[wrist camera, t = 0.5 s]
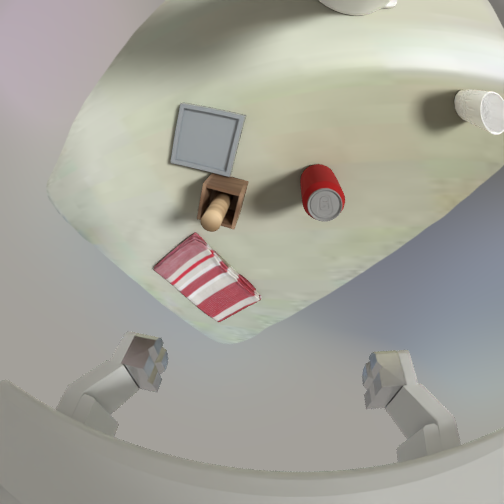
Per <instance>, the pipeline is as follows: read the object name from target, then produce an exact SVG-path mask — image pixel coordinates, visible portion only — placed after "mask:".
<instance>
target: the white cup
mask: <svg viewBox="0 0 504 504" xmlns="http://www.w3.org/2000/svg"><path fill="white" fill-rule="evenodd" d="M454 104H455V109H456V112H457V114H458V115H459V116H460V117H461V118H462V119H463V120H465V121H468V122H470V123H471V124H473V125H475V126H477V127H479V128H481V129H484V130H486V131H488V132H490V133H492V134H495V135H498V134H501V133H502V132H503V131H504V100H503V99H502V97H501V96H500V95H499V94H497V93H496V92H492V91H483V90H460V91H459V92H458V93H457V94H456V96H455V100H454Z"/></svg>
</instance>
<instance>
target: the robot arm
mask: <svg viewBox="0 0 504 504" xmlns="http://www.w3.org/2000/svg"><path fill="white" fill-rule="evenodd" d="M319 1H320V2H321V3H322V4H324V5H325V6H327V7H329V8H331V9H333V10H335V11H338V12H341V13H344V14H349V15H366V14H370V13H373V12H375V11H377V10H378V9H381V8H393V7H395V6H396V4H397V0H319ZM162 346H163V341H162V339H161V338H159V337H154V336H149V335H144V334H139V333H135V332H129V331H127V332H126V333H125V334H124V335H123V338H122V339H121V341H120V343H119V344H118V346H117V348H116V350H115V352H114V354H113V356H112V358H111V360H110V361H109V360H106V361H105V362H104V363H102V364H100V365H99V366H97V367H96V368H94V369H93V370H91V371H90V372H88V373H87V374H85V375H83V376H82V377H80V378H79V379H77V380H76V381H74V382H73V383H71V384H70V385H68V386H67V388H66V390H65V392H64V394H63V396H62V398H61V400H60V402H59V404H58V406H57V408H56V410H55V409H53V408H52V407H50V406H48V405H46V404H45V403H43V402H41V401H39V400H38V399H36V398H35V397H33V396H31V395H30V394H28V393H27V392H25V391H24V390H22V389H21V388H19V387H17V386H16V385H15V384H13V383H12V382H10V381H8V380H2V381H0V504H504V427H503V428H500V429H498V430H496V431H494V432H492V433H490V434H487V435H485V436H483V437H480V438H478V439H475V440H473V441H470V442H468V443H465V444H463V445H461V444H460V439H459V434H458V429H457V424H456V420H455V417H454V416H453V415H452V414H451V413H450V412H449V411H448V410H447V409H446V408H445V407H444V406H443V405H442V404H441V403H440V402H439V401H438V400H437V399H436V398H435V397H434V396H433V395H432V394H431V393H430V392H429V391H428V390H427V389H426V388H425V387H424V386H423V385H422V384H418V381H417V378H416V374H415V370H414V367H413V363H412V360H411V357H410V353H409V351H407V350H400V351H380V352H373V353H371V355H370V356H369V360H370V361H369V362H368V363H366V364H365V367H364V369H363V374H362V381H363V386H364V387H365V388H366V389H367V391H366V393H365V395H364V397H365V405H366V409H374V408H385V409H386V411H387V412H388V414H389V415H390V416H391V418H392V419H393V420H394V422H395V423H396V425H397V426H398V427H399V429H400V430H401V431H402V433H403V434H404V436H405V437H406V438H407V440H406V441H405V442H404V443H402V444H401V445H400V446H399V447H398V448H397V458H398V462H397V463H393V464H387V465H381V466H374V467H368V468H359V469H350V470H338V471H319V472H283V471H265V470H253V469H243V468H235V467H227V466H221V465H215V464H209V463H204V462H198V461H194V460H189V459H185V458H180V457H176V456H172V455H168V454H164V453H161V452H158V451H154V450H151V449H147V448H144V447H141V446H138V445H135V444H132V443H129V442H126V441H124V440H121V439H118V438H116V437H114V436H115V433H116V431H117V428H118V425H119V424H118V422H117V421H116V420H115V419H114V418H113V417H112V416H111V414H112V413H113V412H114V411H115V410H117V409H118V408H119V407H120V406H121V405H122V404H123V403H124V402H126V401H127V400H128V399H129V398H130V397H131V396H133V395H134V394H135V393H136V392H137V391H138V390H139V388H140V389H144V390H148V391H153V392H158V389H159V387H160V384H161V381H162V378H161V375H160V374H162V373H163V372H164V371H165V370H166V367H167V364H168V353H167V350H166V349H165V348H163V347H162Z"/></svg>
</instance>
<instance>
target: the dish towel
mask: <svg viewBox="0 0 504 504" xmlns="http://www.w3.org/2000/svg"><path fill="white" fill-rule="evenodd" d="M154 270H155V271H156V272H157V273H158V274H159V275H161V276H162V277H163V278H165V279H166V280H167V281H168V282H170V283H171V284H172V285H173V286H174V287H175V288H177V289H178V290H179V291H180V292H181V293H182V294H183V295H184V296H185V297H187V298H188V299H189V300H190V301H191V302H192V303H194V304H195V305H196V306H197V307H198V308H199V309H201V310H202V311H203V312H204V313H205V314H207V315H208V316H210V317H212V318H213V319H215V320H216V321H217V322H221V321H223V320H225V319H226V318H228V317H230V316H232V315H234V314H235V313H237V312H239V311H241V310H242V309H244V308H246V307H248V306H250V305H252V304H254V303H256V302H258V301H259V300H261V298H262V296H261V295H259V293H258V292H257V291H256V289H255V288H254V286H253V285H252V284H251V283H250V282H249V281H248V280H247V279H245V278H244V277H243V276H242V275H240V274H239V273H238V272H237V271H235V270H234V269H233V268H232V267H231V266H230V265H229V264H228V263H227V262H226V261H225V260H224V259H223V258H222V257H221V256H220V255H218V254H217V253H216V252H215V251H214V250H213V249H212V248H211V247H210V246H209V245H208V244H207V243H206V242H205V241H204V240H203V239H202V238H201V237H200V236H199V235H198V234H197V233H196V232H195V233H194V234H192V235H191V236H190V237H189V238H187V239H186V240H185V241H184V242H182V243H181V244H180V245H179V246H177V247H176V248H175V249H174V250H173V251H171V252H170V253H169V254H168V255H167V256H166V257H164V258H163V259H162V260H161V261H160V262H158V263H157V264H156V265H155V266H154Z"/></svg>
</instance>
